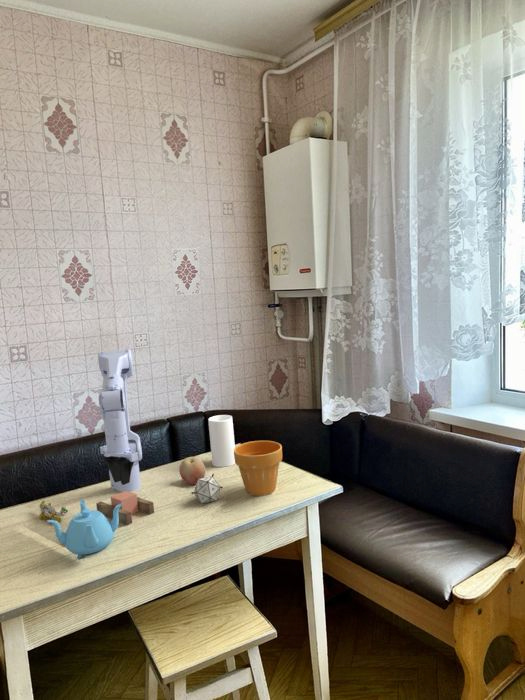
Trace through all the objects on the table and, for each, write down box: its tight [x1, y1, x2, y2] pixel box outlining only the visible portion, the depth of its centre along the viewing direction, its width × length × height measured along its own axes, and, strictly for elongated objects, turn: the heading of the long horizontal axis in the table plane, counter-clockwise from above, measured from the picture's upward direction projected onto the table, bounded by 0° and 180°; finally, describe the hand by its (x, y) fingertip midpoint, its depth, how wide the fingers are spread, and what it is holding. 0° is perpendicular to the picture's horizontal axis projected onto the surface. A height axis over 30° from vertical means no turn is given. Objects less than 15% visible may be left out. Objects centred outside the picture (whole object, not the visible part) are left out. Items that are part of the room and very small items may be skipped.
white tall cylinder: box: [207, 414, 236, 468], centre depth 184 cm, size 8×8×16 cm
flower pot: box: [234, 440, 283, 497], centre depth 158 cm, size 14×14×13 cm
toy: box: [38, 500, 69, 526], centre depth 150 cm, size 5×5×15 cm
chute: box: [96, 496, 155, 526], centre depth 148 cm, size 14×9×4 cm, turn 50°
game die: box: [190, 473, 224, 505], centre depth 152 cm, size 9×8×10 cm
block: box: [110, 491, 140, 516], centre depth 147 cm, size 5×5×5 cm
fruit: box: [179, 456, 206, 485], centre depth 169 cm, size 8×8×8 cm
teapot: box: [47, 499, 123, 560], centre depth 130 cm, size 13×13×10 cm
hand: (122, 482), depth 147 cm, fingers open, 3 cm apart
